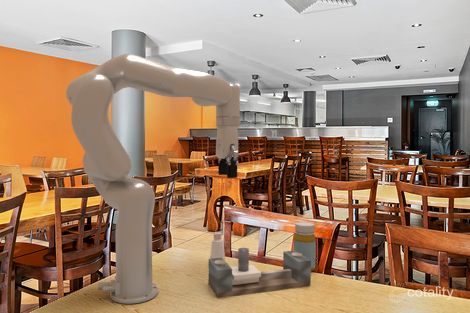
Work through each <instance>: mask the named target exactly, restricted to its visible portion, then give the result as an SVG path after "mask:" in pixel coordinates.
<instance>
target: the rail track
mask: <svg viewBox="0 0 470 313" xmlns="http://www.w3.org/2000/svg"><path fill="white" fill-rule="evenodd" d="M282 261H283V262H282V265H283V266H282V269H276V270H267V271H260V272H261V277H259V282H254V283H246V284H238V285H232V268H231V267H232V266H230V265H229V264H228V263H227V262H226V260H225V261H224V260H223V258H213V259H210V258H208V286H209V287H210V288H211V290H212V292H213V293H214V295H215V297H217V299H220V298H222V299H223V298H228V297H229V298H230V297H236V296H237V297H238V296H243V295H252V294H258V293H259V294H260V293H266V292H267V293H268V292H274V291H282V290H289V289H296V288H304V287H311V286H312V285H311V284H312V283H311V278H312V277H311V276H312V274H311V273H312V272H311V260H309V259H308V258H306V257H305V256H303V255H302V254H301V253H298V252H297V251H293V250H287V251H283V258H282Z"/></svg>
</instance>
